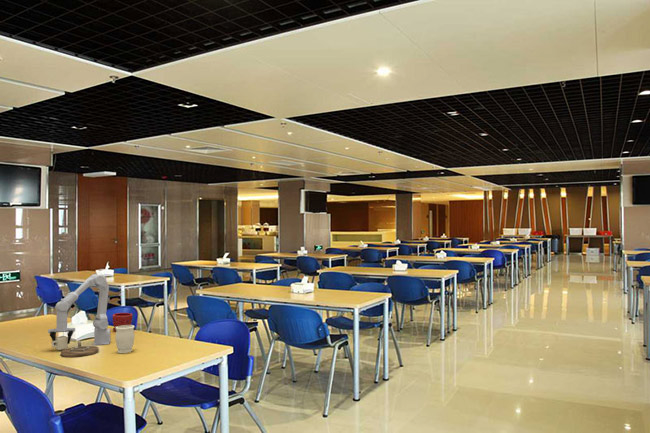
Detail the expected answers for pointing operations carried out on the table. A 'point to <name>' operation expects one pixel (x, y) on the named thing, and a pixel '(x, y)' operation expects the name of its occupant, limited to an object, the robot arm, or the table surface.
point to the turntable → (79, 351)
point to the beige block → (60, 342)
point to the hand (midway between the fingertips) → (61, 344)
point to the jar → (124, 338)
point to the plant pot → (121, 319)
